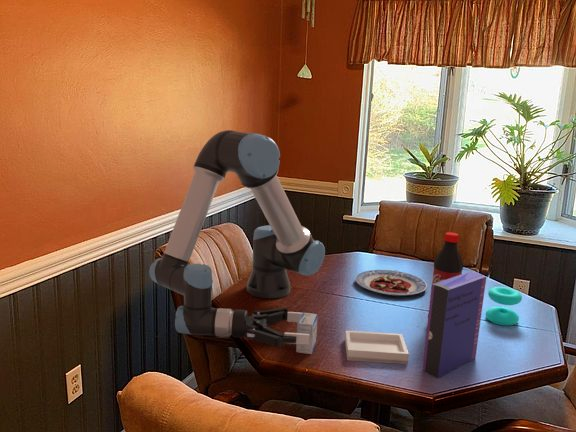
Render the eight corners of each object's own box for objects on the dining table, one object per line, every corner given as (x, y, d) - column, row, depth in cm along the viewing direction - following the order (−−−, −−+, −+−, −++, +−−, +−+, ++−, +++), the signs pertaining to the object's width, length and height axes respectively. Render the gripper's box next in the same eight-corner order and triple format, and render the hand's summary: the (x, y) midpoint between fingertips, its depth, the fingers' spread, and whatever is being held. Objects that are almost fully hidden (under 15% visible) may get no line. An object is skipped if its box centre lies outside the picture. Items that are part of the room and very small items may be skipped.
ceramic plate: (429, 303, 192) (430, 295, 191) (353, 296, 195) (354, 288, 195) (423, 278, 216) (424, 271, 216) (356, 272, 220) (357, 265, 219)
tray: (345, 340, 161) (345, 330, 160) (401, 343, 160) (402, 334, 160) (347, 360, 149) (347, 349, 149) (407, 364, 149) (408, 353, 148)
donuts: (485, 291, 176) (493, 283, 184) (481, 321, 179) (489, 311, 187) (518, 299, 171) (525, 290, 179) (513, 329, 173) (521, 319, 181)
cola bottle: (436, 334, 167) (447, 237, 160) (421, 322, 175) (431, 229, 168) (460, 332, 170) (473, 236, 163) (445, 320, 178) (456, 229, 171)
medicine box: (311, 355, 151) (313, 325, 149) (295, 352, 152) (297, 323, 150) (316, 342, 159) (318, 313, 157) (300, 340, 160) (302, 311, 158)
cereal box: (460, 352, 157) (470, 270, 151) (475, 359, 153) (486, 275, 148) (422, 370, 146) (431, 283, 140) (437, 378, 142) (448, 289, 137)
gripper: (238, 317, 168) (309, 322, 167) (224, 357, 144) (307, 362, 143) (239, 293, 166) (311, 298, 165) (225, 329, 142) (309, 335, 141)
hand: (309, 328), depth 154 cm, fingers open, 13 cm apart
